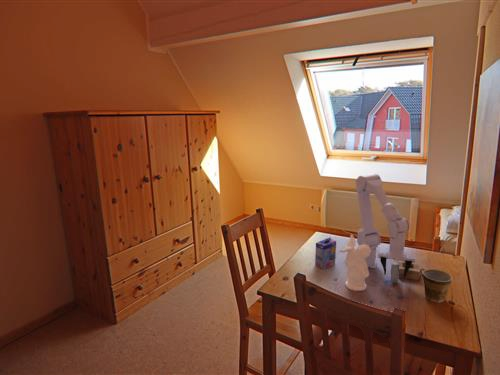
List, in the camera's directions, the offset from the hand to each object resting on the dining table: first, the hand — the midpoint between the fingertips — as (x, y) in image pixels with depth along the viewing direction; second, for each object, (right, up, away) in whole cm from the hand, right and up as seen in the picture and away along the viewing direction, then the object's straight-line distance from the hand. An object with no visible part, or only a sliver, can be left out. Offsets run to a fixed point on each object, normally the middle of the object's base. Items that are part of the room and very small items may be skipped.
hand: (394, 274), depth 139 cm
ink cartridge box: (-26, 0, +18) cm, 32 cm away
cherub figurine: (-20, -4, -2) cm, 20 cm away
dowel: (0, -3, +1) cm, 3 cm away
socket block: (+9, -1, +6) cm, 11 cm away
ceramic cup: (+10, -6, -11) cm, 16 cm away
